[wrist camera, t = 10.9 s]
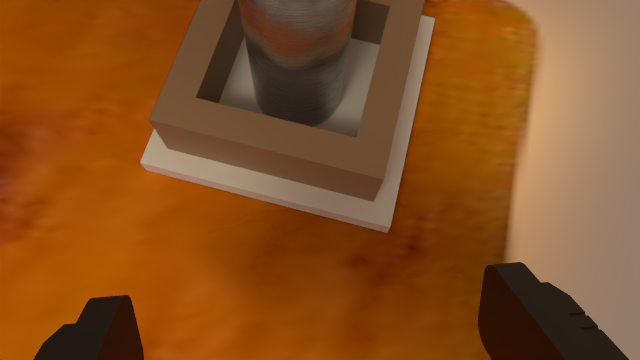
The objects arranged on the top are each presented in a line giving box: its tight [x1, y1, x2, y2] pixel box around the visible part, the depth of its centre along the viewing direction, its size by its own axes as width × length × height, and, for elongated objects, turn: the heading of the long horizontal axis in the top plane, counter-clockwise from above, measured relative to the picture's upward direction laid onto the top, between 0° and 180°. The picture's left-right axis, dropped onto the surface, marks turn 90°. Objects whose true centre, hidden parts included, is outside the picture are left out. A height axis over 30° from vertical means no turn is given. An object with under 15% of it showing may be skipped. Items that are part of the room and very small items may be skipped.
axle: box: [238, 0, 357, 127], centre depth 19 cm, size 4×4×11 cm
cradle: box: [140, 0, 435, 233], centre depth 23 cm, size 12×12×4 cm
